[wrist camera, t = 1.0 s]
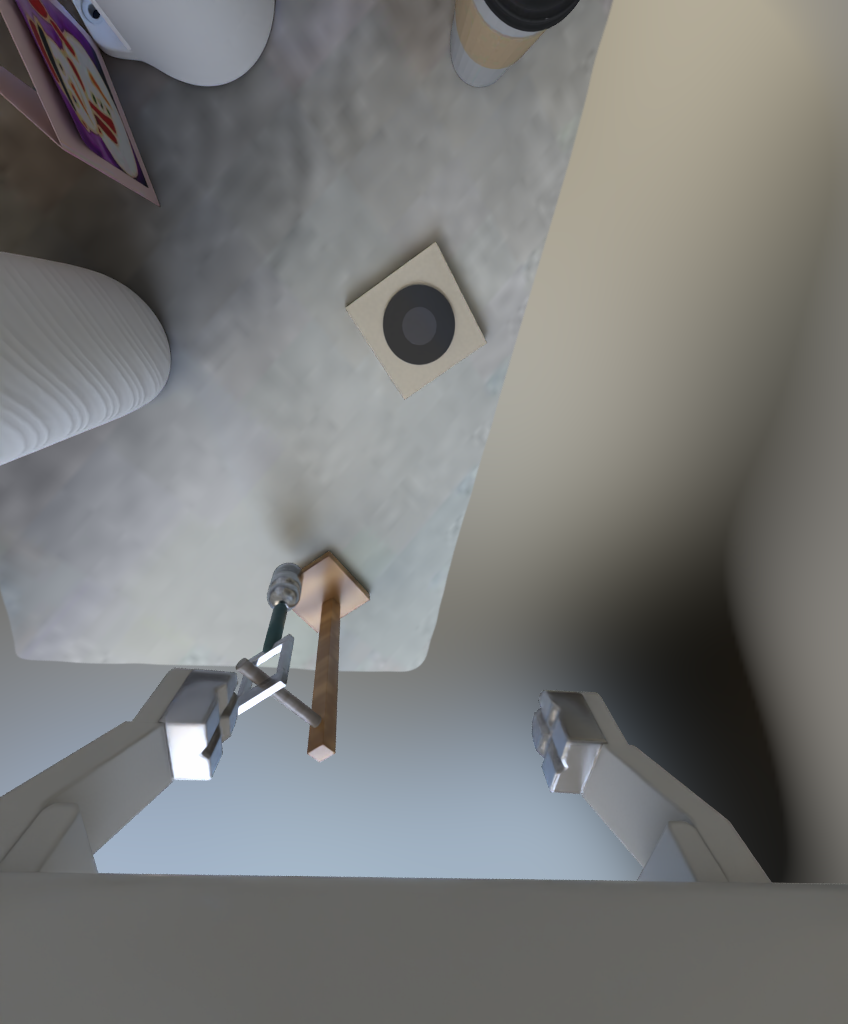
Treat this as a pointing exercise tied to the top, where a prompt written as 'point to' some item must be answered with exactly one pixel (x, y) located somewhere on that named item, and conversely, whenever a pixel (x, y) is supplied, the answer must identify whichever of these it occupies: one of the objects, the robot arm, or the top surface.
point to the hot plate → (417, 322)
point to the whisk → (275, 635)
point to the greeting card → (71, 92)
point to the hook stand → (320, 648)
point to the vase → (71, 353)
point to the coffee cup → (498, 34)
